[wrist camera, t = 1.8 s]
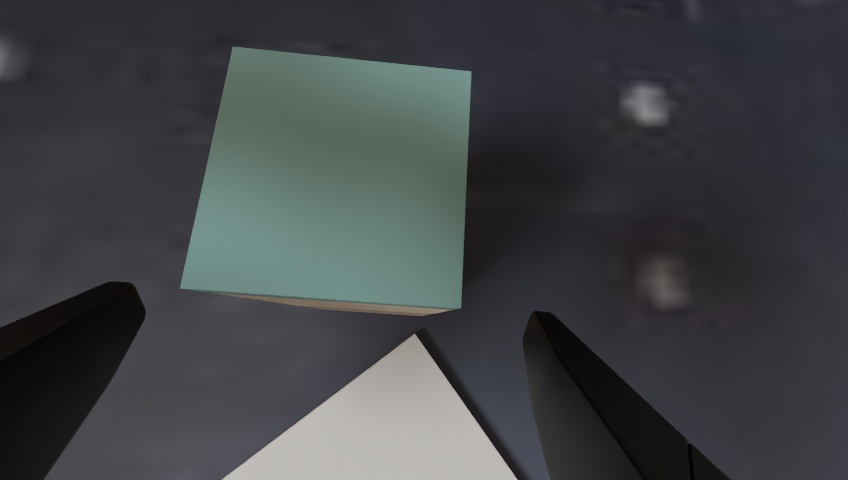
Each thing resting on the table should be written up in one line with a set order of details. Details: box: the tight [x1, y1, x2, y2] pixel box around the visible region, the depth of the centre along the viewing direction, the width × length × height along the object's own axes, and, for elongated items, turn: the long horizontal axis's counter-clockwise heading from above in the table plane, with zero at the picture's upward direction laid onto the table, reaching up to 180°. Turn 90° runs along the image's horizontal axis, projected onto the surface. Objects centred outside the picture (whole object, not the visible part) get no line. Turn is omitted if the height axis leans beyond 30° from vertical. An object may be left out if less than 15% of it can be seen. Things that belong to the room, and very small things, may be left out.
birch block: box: [180, 47, 471, 316], centre depth 13 cm, size 5×5×12 cm
